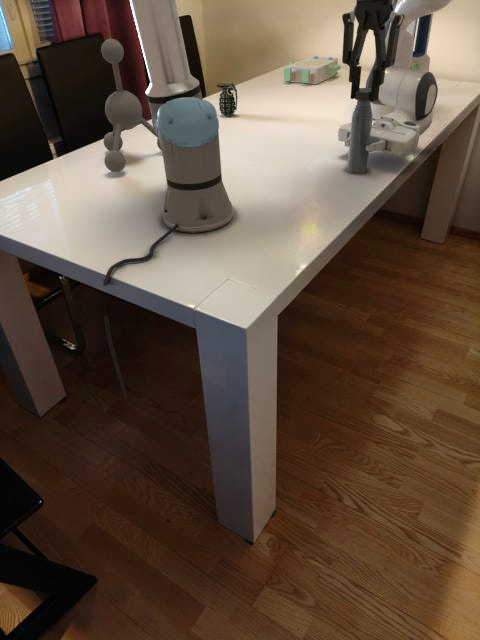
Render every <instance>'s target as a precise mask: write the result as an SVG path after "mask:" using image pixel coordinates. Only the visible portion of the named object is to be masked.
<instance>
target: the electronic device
mask: <svg viewBox="0 0 480 640" xmlns="http://www.w3.org/2000/svg"><path fill="white" fill-rule="evenodd" d="M433 17H434V13H432V14H429V15H426V16H423V17H420V18H417V19H416V20H414V21H413V22H411V23H410V24H409V26H408V27H407V29H406V31H407V32H409V33H410V34H411V35H412V37H413V39H414V40H415V41H414V48H413V55H412V61H411V68H412V69H418V70H423V71H427V72H430V64H431V57H430V56H429V55H428V54H427V53H428V47H429V42H430V35H431V29H432V23H433V19H434V18H433Z"/></svg>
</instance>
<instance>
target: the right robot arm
mask: <svg viewBox="0 0 480 640" xmlns="http://www.w3.org/2000/svg"><path fill="white" fill-rule="evenodd" d="M452 1H453V0H392V6H393V11H394V12H396V13H398V14H404V20H403V22H402V24H401V26H400V32H399V38H398V45H397V52H396V58H395V64H394V65H393V66H390V67H388V68H386V70H385V77H384V83H383V84H382V85H380V88H379V96H378V99H377V100H375V101H373V102H372V101H371V104H370V105H371V108H372V114H373V116H372V117H373V119H372V120H374V122H373V123H372V128H371V137H370V143H369V144H367V145H366V149H365V151H367V152H369V154H370V153H373V152H382V153H388V154H392V155H394V156H400V157H405V156H408V155H410V154H412V153H414V152H416V151H417V148H418V145H419V140H420V136H422V135H423V134H424V133H425V132H426V131H427V130H428V129H429V128H430V126H431V124H432V122H433V118H434V117H433V115H434V114H433V110H434V107H435V105H436V102H437V98H438V93H439V92H438V91H439V88H438V83H437V79H436V76H435V75H434V74H433V73H432V72H431V71H429V72H427V71H423V70H418V69H412V68H411V61H412V55H413V51H414V49H415V39H413V37H412V35H411V34H410V33H409V32H407V31H406V29H407V27H408V26H409V24H410V23H411V22H413V21H414V20H416V19H417V18H418V19H419V18H420V17H423V16H426V15H429V14H432V13H433V14H434V13H437V12H439V11H441V10H443V9H444V8H446V7H447V6H448V5H449V4H450V3H451V2H452ZM418 19H417V20H418ZM390 20H391V18H389V19H388V21H387V22H386V23H385V28H386V32H385V45H386V54H387V46H388V39H389V32H390V27H391V23H390ZM374 53H375V54H374V55H375V56H374V62H373V65H372V67H371V69H370V72H369V74H368V76H367V79H366V82H365V88H371V87H372V78H373V70H375V68H377V62H376V52H374ZM351 123H352V122H349V123H345V124H343V125H340V126H339V127H338V131H337V139H338V142H343V143H344V146H345V147H347V148H349V146H350V135H351Z"/></svg>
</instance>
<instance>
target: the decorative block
mask: <svg viewBox="0 0 480 640" xmlns="http://www.w3.org/2000/svg"><path fill="white" fill-rule="evenodd" d="M338 63H339V58H335V57H332V56H329V57H322V56H317V55H315V56H313V57H310V58H304V59H302V60H301V59H300V60H299V61H296V62H294V61H289V63H288V65H286V67H284V68H283V81H284V82H292V83H302V84H310V85H311V84H312V85H318V84H320V83H322V82H324V81H326V80H328V79H331V78H333V77H334V76H335V75H336V74H338V71H340V70H341V67H342V65H340V64H338Z"/></svg>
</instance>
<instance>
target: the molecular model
mask: <svg viewBox="0 0 480 640" xmlns="http://www.w3.org/2000/svg"><path fill="white" fill-rule="evenodd" d="M100 52H101V55H102V58H103V59H104V60H105V62H107V63H109V64H111V66H112V71H113V76H114V81H115V87H116V91H114V92H113V93H111V94H110V95H109V96H107V99H106V101H105V105H104V106H105V107H104V112H105V117H106V118H107V120H108V122H109V123H110V124H111V125H112V126H113V128H112V131H110V132H107V133H106V134H105V135H104V137H103V146H104V147H105V149H106V150H107V151H108V152H107V153H106V155H105V156H104V158H103V159H104V165H105V167H106V169H107V170H109V171H110V172H113V173H120V172H121V171H123V170H124V169H125V167H126V163H127V162H126V161H127V160H126V157H125V155H124V154H123V153H122V152H121V151H120V150H121V149H122V148H123V144H124V141H123V138H122V137H121V136H122V131H128V130H132V129H134V128H136V127H137V126H138V125H139V124H141V125H142V126H143V127H145V128H146V130H148V131H149V132H150V133H151V134H153V135H154V136H155V137H156V138H157V139H156V145H157V147H158V149H159V150H160V151H161V152H162V148H161V145H160V142H159V139H158V136H157V134H156V132H155V130H154V127H153V124H151V123H149V122H148V121H147V120H146V119H145V118H144V117H143V107H142V104H141V101H140V100H139V98H138V97H137V96H136V95H135V94H134V93H132V92H130V91H128V90H124V89H123V83H122V78H121V72H120V66H119V63H120V62H121V61H122V60H123V59H124V55H125V49H124V47H123V44H122V43H121V42H119V41H118V40H117V39H115V38H108V39H106V40H104V41H103V43H102V45H101V49H100Z"/></svg>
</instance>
